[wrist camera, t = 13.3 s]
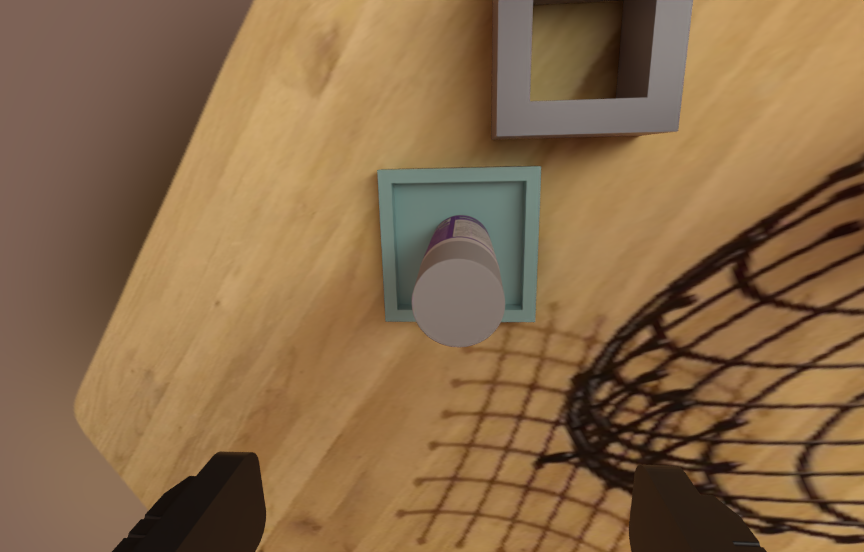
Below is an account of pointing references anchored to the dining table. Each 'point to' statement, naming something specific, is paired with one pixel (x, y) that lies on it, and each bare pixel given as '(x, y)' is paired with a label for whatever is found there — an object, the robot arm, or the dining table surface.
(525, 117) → the bay
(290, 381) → the dining table surface
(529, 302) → the tray
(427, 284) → the container
